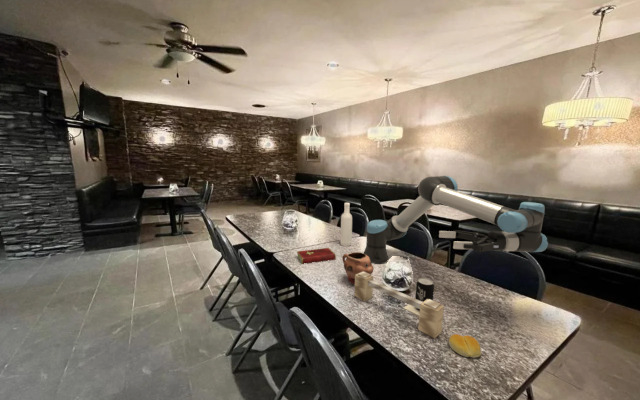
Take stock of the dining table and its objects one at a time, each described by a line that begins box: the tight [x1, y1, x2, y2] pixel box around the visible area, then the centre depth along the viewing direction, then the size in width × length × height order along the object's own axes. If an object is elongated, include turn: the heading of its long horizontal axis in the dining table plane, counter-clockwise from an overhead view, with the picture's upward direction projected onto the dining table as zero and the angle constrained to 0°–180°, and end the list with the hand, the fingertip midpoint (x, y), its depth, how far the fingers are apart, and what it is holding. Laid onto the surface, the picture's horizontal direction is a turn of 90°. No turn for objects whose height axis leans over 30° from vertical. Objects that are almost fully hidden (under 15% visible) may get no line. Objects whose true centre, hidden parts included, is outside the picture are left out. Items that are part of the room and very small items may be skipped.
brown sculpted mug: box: [342, 251, 375, 286], centre depth 127 cm, size 20×12×14 cm, turn 43°
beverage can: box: [415, 277, 435, 311], centre depth 103 cm, size 7×7×12 cm
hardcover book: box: [296, 247, 337, 265], centre depth 157 cm, size 12×21×4 cm, turn 110°
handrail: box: [353, 271, 445, 339], centre depth 101 cm, size 36×5×11 cm, turn 41°
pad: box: [403, 304, 420, 317], centre depth 104 cm, size 11×11×1 cm
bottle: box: [340, 202, 353, 247], centre depth 180 cm, size 8×8×30 cm
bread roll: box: [448, 333, 482, 359], centre depth 82 cm, size 8×9×4 cm
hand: (446, 239), depth 103 cm, fingers open, 13 cm apart
